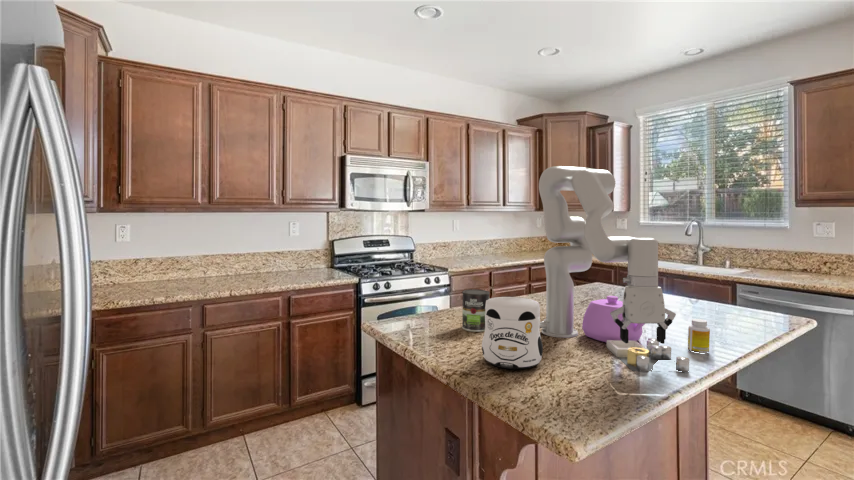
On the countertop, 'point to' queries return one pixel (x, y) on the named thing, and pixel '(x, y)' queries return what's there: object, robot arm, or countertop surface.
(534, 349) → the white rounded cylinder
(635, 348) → the nut
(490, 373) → the countertop surface
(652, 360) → the mat
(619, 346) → the dish
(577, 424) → the countertop surface
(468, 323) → the coffee can
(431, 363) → the countertop surface
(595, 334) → the teapot
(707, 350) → the supplement bottle
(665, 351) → the spacers
